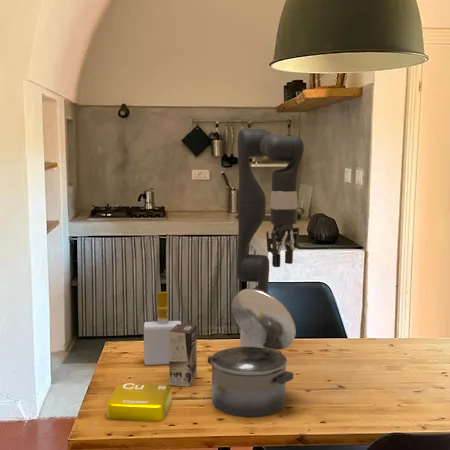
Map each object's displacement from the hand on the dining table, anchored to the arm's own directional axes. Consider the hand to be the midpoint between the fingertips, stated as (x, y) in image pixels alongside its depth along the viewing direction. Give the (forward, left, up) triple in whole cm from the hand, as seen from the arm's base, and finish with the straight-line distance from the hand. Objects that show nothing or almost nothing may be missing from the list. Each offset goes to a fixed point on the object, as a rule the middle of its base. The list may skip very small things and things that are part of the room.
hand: (282, 264), depth 174 cm
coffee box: (+16, -24, -36) cm, 46 cm away
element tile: (+38, -20, -36) cm, 56 cm away
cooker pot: (+16, 0, -36) cm, 39 cm away
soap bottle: (+8, -40, -36) cm, 54 cm away
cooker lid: (+10, 0, -14) cm, 17 cm away
